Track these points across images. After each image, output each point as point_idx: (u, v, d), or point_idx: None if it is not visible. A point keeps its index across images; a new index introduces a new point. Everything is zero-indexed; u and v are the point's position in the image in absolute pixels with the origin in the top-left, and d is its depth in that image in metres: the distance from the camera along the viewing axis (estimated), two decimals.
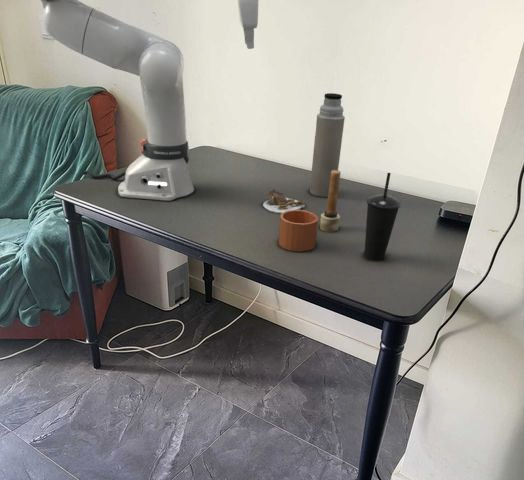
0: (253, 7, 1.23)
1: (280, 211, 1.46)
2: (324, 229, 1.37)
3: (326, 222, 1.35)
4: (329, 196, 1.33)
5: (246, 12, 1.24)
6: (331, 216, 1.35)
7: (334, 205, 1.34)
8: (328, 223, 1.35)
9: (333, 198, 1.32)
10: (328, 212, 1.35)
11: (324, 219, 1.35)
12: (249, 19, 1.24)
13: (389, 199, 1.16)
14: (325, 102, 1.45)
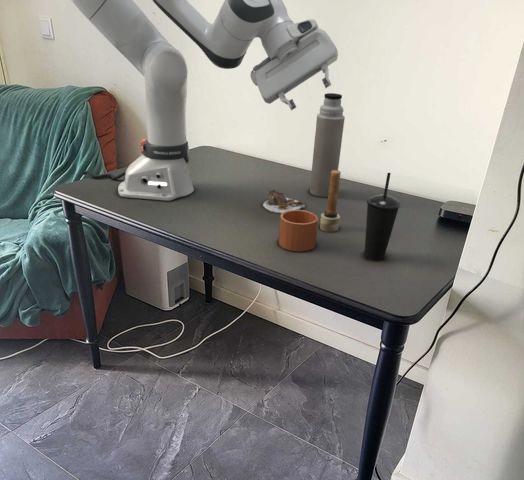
0: None
1: (280, 211, 1.46)
2: (324, 229, 1.37)
3: (326, 222, 1.35)
4: (329, 196, 1.33)
5: None
6: (331, 216, 1.35)
7: (334, 205, 1.34)
8: (328, 223, 1.35)
9: (333, 198, 1.32)
10: (328, 212, 1.35)
11: (324, 219, 1.35)
12: None
13: (389, 199, 1.16)
14: (325, 102, 1.45)
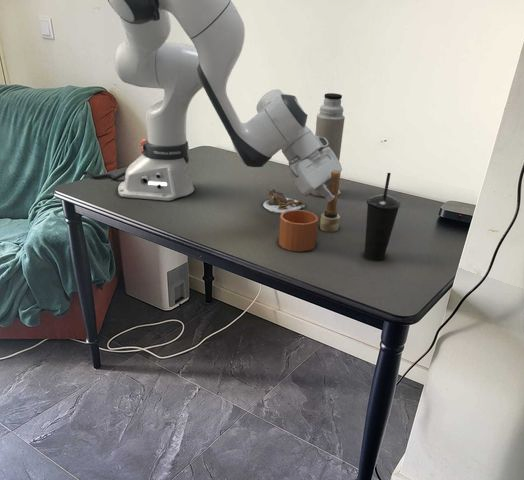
0: None
1: (280, 211, 1.46)
2: (324, 229, 1.37)
3: (326, 222, 1.35)
4: None
5: None
6: (331, 216, 1.35)
7: (334, 205, 1.34)
8: (328, 223, 1.35)
9: None
10: (328, 212, 1.35)
11: (324, 219, 1.35)
12: None
13: (389, 199, 1.16)
14: (325, 102, 1.45)
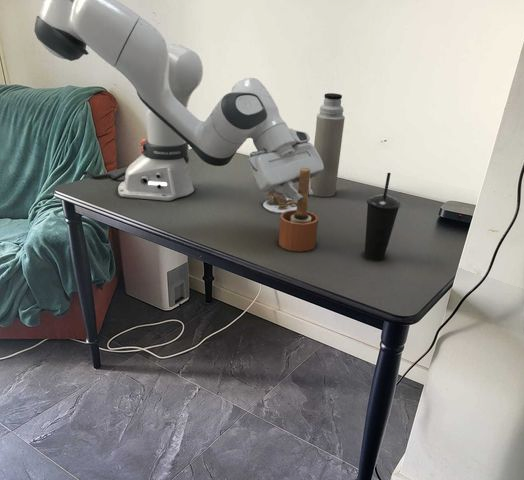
0: None
1: (280, 211, 1.46)
2: None
3: None
4: None
5: None
6: (299, 218, 1.24)
7: (303, 206, 1.22)
8: None
9: None
10: (297, 213, 1.24)
11: (292, 220, 1.24)
12: None
13: (389, 199, 1.16)
14: (325, 102, 1.45)
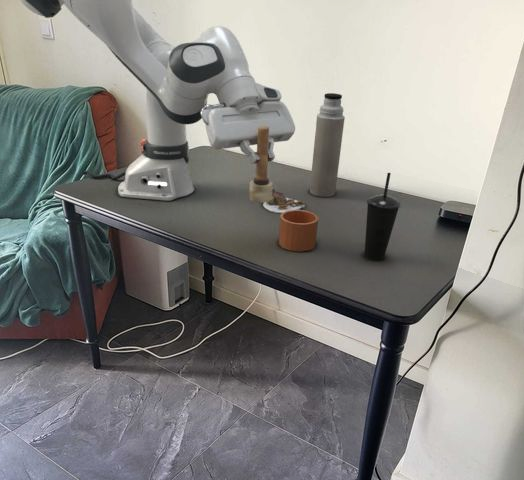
0: None
1: (280, 211, 1.46)
2: (250, 197, 1.15)
3: (251, 189, 1.13)
4: None
5: None
6: (257, 182, 1.12)
7: (261, 169, 1.11)
8: (253, 190, 1.13)
9: None
10: (256, 177, 1.13)
11: (250, 185, 1.13)
12: None
13: (389, 199, 1.16)
14: (325, 102, 1.45)
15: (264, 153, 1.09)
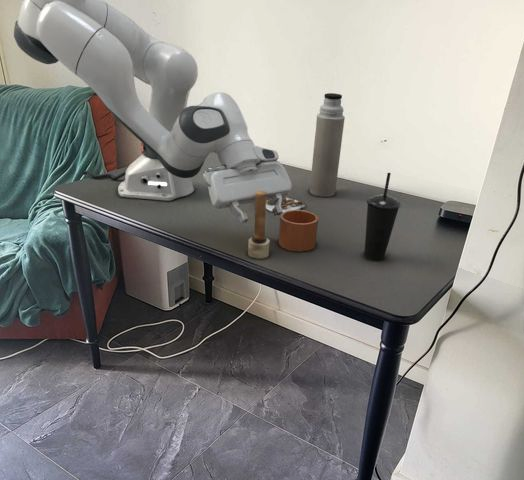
0: None
1: None
2: (249, 254, 1.23)
3: (249, 247, 1.21)
4: None
5: None
6: (255, 241, 1.20)
7: (259, 229, 1.19)
8: (251, 248, 1.21)
9: (257, 221, 1.18)
10: (254, 236, 1.21)
11: (248, 243, 1.21)
12: None
13: (389, 199, 1.16)
14: (325, 102, 1.45)
15: (262, 215, 1.17)
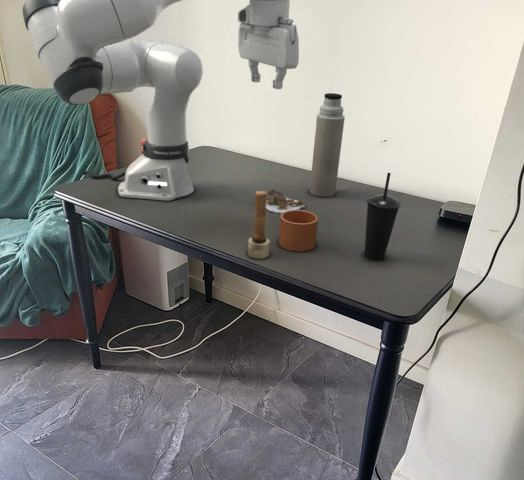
0: None
1: (280, 211, 1.46)
2: (249, 254, 1.23)
3: (249, 247, 1.21)
4: None
5: None
6: (255, 241, 1.20)
7: (259, 229, 1.19)
8: (251, 248, 1.21)
9: (257, 221, 1.18)
10: (254, 236, 1.21)
11: (248, 243, 1.21)
12: None
13: (389, 199, 1.16)
14: (325, 102, 1.45)
15: (262, 215, 1.17)
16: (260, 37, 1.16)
